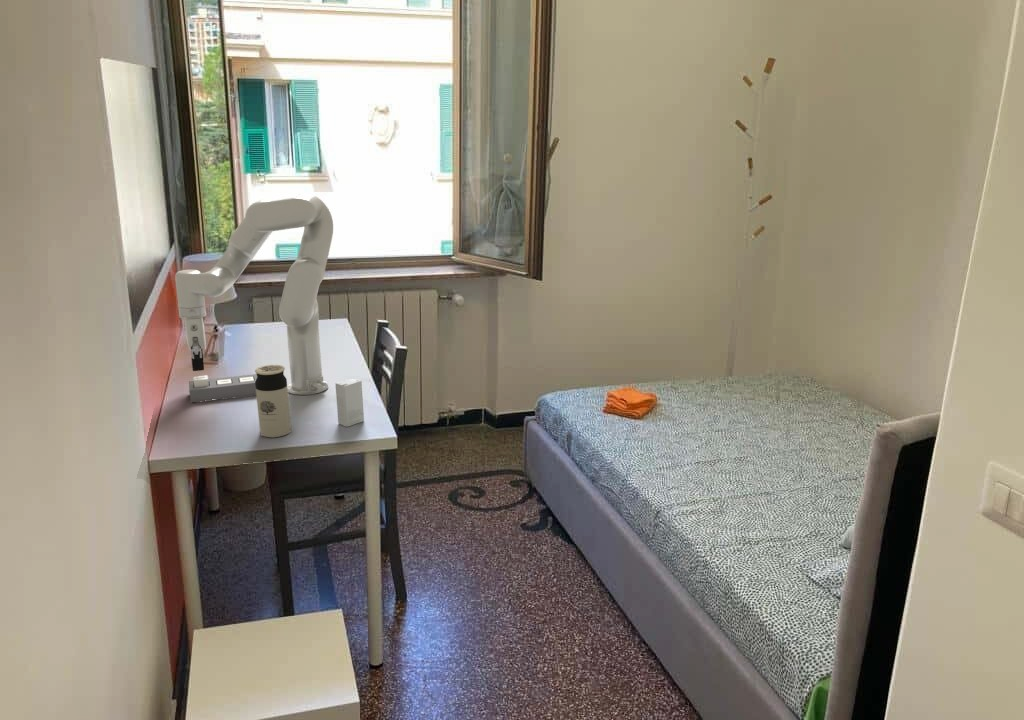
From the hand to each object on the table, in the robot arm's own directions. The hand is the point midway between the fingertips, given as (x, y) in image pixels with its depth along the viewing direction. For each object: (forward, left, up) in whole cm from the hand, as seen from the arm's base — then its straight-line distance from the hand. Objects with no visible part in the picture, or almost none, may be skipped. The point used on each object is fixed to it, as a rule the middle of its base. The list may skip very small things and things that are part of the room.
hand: (198, 365), depth 238 cm
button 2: (-10, -10, -7) cm, 16 cm away
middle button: (-7, -4, -7) cm, 11 cm away
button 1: (-5, +2, -5) cm, 7 cm away
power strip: (-7, -4, -9) cm, 12 cm away
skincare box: (-55, -16, -9) cm, 58 cm away
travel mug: (-46, +2, -9) cm, 47 cm away
